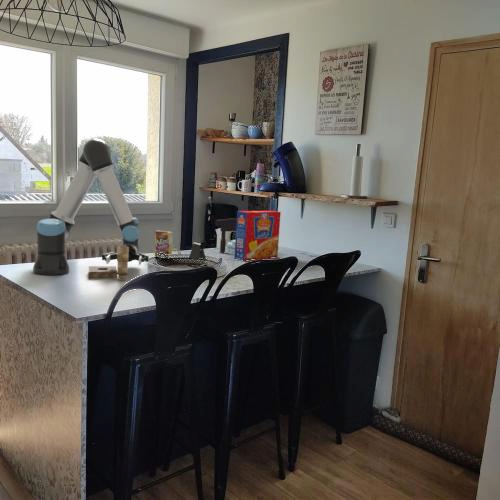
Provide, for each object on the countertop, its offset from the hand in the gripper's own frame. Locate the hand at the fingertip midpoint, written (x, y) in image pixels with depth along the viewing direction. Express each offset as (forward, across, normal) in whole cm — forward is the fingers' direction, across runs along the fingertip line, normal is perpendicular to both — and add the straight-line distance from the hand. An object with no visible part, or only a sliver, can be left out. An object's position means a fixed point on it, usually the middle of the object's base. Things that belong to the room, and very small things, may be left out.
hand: (123, 261), depth 210 cm
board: (-10, +10, -9) cm, 17 cm away
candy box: (-58, -16, -9) cm, 61 cm away
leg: (-1, 0, -9) cm, 9 cm away
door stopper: (-40, -34, -9) cm, 53 cm away
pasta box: (-68, -70, -9) cm, 98 cm away
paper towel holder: (-92, -59, -9) cm, 109 cm away
